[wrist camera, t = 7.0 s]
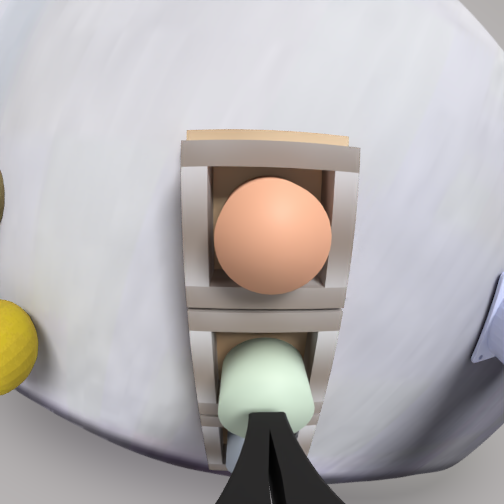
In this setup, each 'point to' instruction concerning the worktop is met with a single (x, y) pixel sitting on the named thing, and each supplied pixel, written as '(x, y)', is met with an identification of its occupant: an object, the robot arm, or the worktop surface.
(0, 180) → the pepper mill
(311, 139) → the panel
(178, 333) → the worktop surface
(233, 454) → the button slate
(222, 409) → the button sage
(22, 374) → the lemon
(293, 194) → the button terracotta
